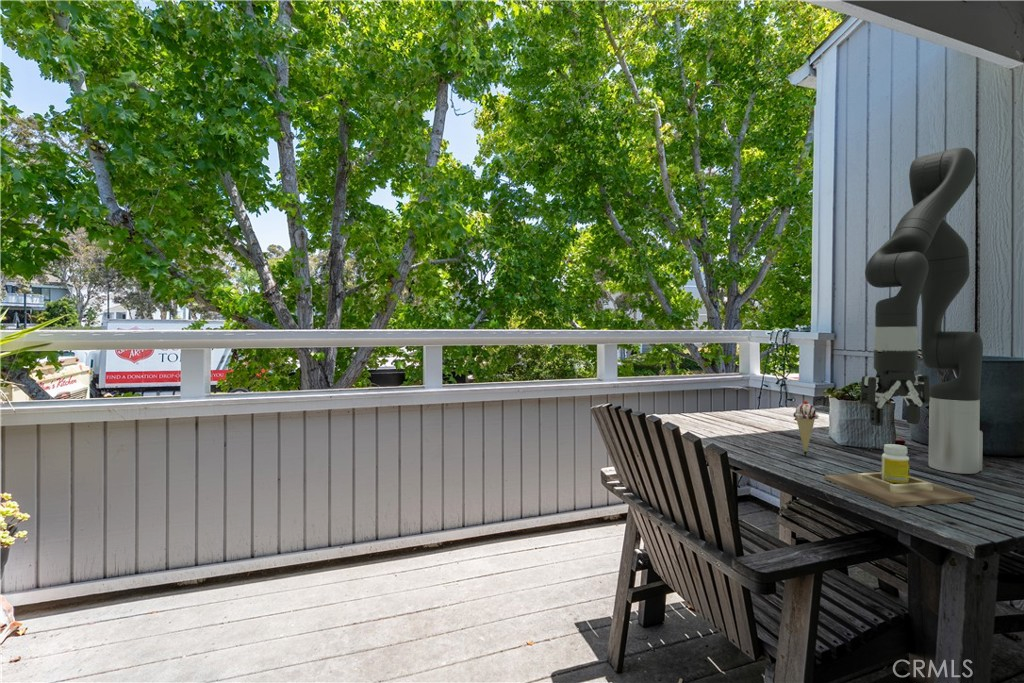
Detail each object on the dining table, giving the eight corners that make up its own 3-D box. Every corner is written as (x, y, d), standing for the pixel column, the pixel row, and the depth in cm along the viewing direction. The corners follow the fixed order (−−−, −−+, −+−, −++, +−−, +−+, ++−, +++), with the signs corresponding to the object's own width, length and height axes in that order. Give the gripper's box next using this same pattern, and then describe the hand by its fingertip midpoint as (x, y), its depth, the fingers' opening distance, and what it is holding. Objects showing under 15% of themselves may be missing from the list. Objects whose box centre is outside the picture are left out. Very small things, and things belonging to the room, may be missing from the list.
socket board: (894, 475, 119) (894, 464, 119) (974, 501, 101) (974, 489, 101) (824, 479, 116) (824, 468, 116) (894, 507, 98) (894, 494, 98)
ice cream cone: (822, 459, 134) (822, 402, 133) (800, 459, 134) (800, 402, 133) (809, 454, 139) (810, 399, 139) (788, 454, 139) (789, 399, 139)
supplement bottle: (914, 489, 106) (914, 449, 106) (888, 488, 107) (888, 448, 106) (901, 482, 110) (901, 443, 110) (877, 481, 111) (877, 443, 111)
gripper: (909, 346, 112) (908, 420, 113) (851, 348, 110) (850, 422, 111) (942, 348, 105) (941, 426, 105) (880, 349, 103) (880, 429, 104)
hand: (894, 424), depth 108 cm, fingers open, 8 cm apart
